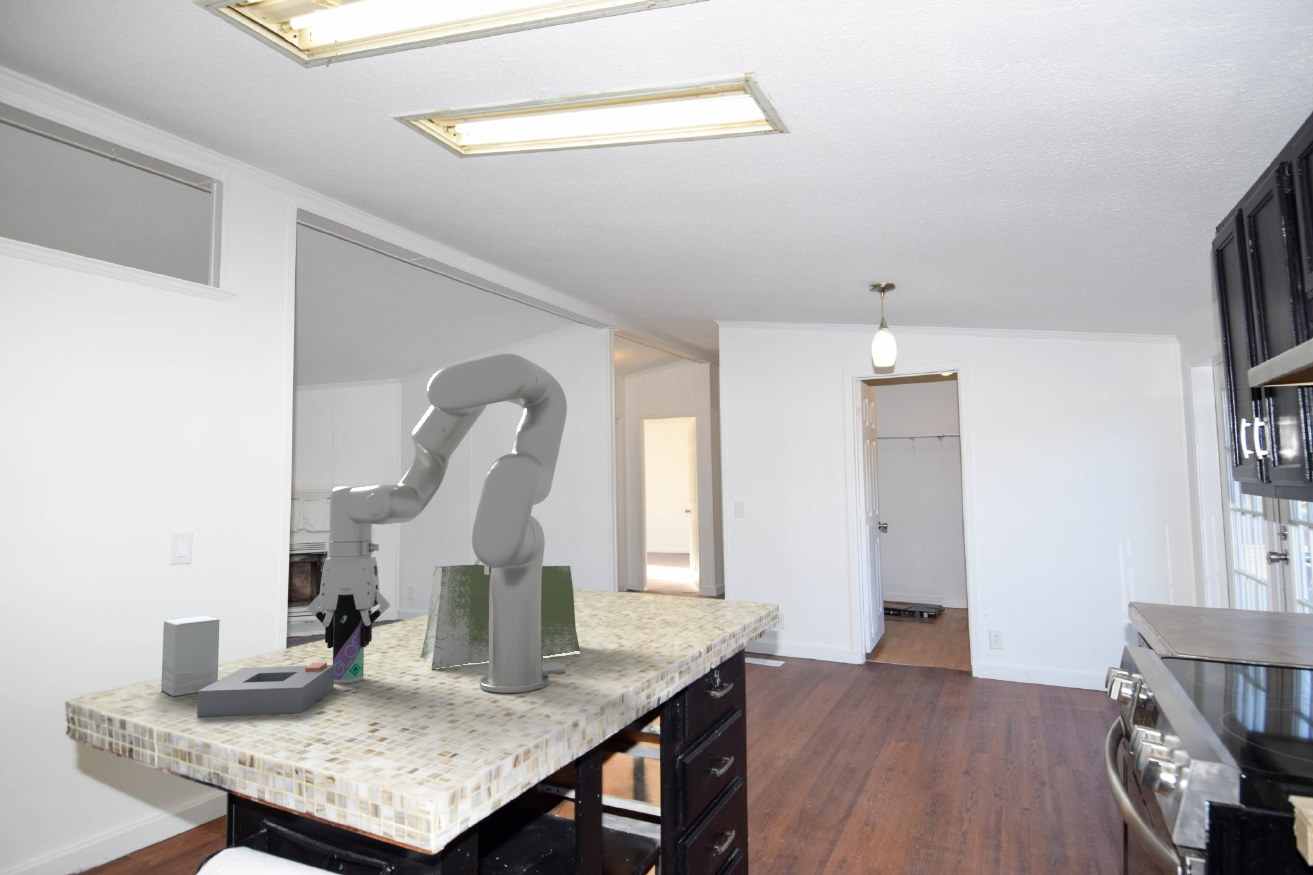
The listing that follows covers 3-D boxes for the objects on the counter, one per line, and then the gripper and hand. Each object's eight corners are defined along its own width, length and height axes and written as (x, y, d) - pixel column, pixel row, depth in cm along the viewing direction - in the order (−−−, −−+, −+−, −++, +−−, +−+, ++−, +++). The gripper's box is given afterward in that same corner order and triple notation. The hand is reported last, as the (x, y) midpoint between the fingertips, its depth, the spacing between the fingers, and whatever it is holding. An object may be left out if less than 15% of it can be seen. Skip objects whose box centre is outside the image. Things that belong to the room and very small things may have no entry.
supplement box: (218, 689, 137) (220, 618, 138) (171, 697, 131) (174, 624, 132) (205, 682, 142) (208, 614, 143) (159, 690, 136) (162, 619, 137)
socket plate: (333, 687, 137) (334, 661, 138) (301, 712, 121) (302, 683, 122) (242, 690, 136) (242, 664, 136) (197, 716, 120) (198, 687, 120)
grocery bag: (562, 643, 175) (562, 544, 177) (581, 655, 163) (581, 547, 164) (420, 657, 162) (421, 549, 163) (429, 671, 149) (430, 554, 151)
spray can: (337, 685, 138) (340, 576, 140) (328, 680, 142) (330, 573, 144) (367, 680, 142) (369, 573, 143) (357, 675, 146) (359, 571, 148)
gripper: (400, 548, 149) (399, 641, 147) (310, 549, 147) (308, 643, 146) (391, 551, 141) (389, 649, 140) (296, 552, 139) (294, 651, 138)
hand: (348, 645), depth 143 cm, fingers closed on spray can, 5 cm apart
